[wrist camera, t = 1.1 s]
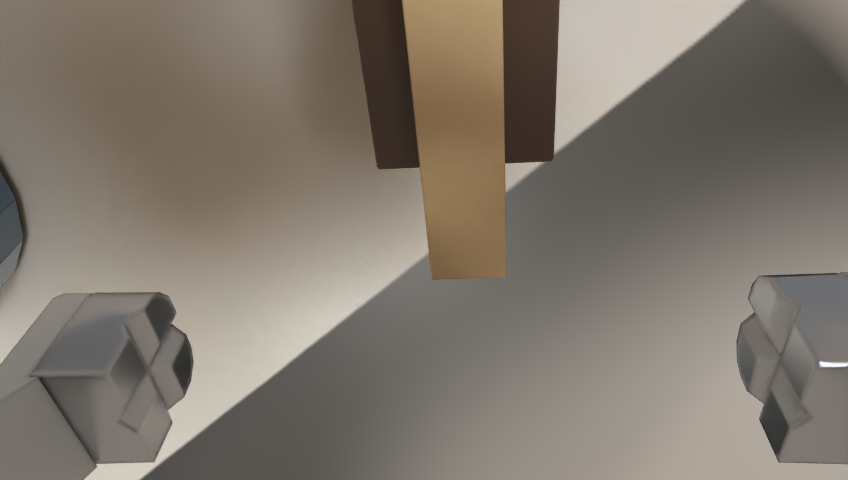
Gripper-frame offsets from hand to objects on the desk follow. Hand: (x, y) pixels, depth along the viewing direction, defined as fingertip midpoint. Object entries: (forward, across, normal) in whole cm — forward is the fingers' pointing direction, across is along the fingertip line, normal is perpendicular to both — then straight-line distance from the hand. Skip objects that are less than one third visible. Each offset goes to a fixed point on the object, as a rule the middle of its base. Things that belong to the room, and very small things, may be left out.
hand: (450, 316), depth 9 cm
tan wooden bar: (+9, 0, 0) cm, 9 cm away
